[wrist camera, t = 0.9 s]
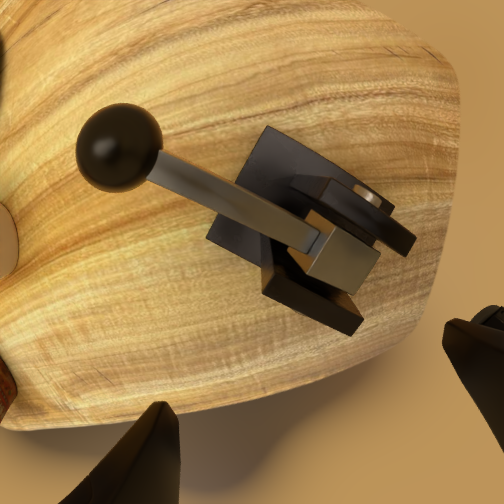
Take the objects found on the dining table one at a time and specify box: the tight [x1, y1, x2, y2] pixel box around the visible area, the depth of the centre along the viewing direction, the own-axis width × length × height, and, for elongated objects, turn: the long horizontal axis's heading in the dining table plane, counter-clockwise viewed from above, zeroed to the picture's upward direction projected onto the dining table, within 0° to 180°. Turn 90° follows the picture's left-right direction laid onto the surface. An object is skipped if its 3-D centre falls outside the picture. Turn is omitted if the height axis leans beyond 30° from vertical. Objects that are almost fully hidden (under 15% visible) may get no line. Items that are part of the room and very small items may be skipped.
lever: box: [75, 103, 381, 296], centre depth 10 cm, size 12×3×3 cm, turn 61°
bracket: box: [206, 125, 417, 337], centre depth 15 cm, size 11×9×11 cm
